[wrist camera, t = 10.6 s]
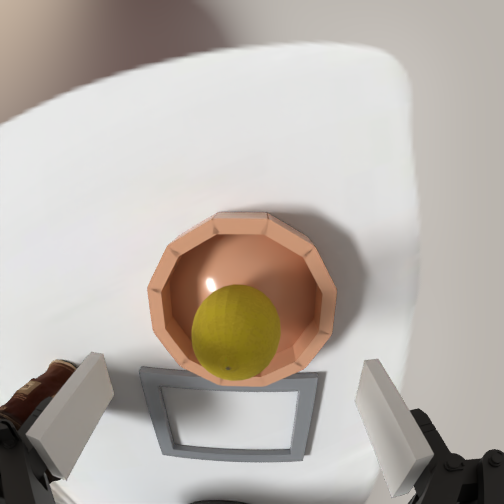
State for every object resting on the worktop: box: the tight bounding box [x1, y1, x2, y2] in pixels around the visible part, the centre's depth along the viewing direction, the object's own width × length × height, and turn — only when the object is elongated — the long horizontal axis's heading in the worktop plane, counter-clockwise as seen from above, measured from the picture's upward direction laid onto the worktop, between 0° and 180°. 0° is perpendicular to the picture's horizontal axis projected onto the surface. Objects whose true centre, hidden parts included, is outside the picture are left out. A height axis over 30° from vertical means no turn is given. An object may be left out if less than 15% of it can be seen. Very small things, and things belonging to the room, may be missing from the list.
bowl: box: [147, 212, 337, 387], centre depth 22 cm, size 13×13×3 cm
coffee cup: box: [0, 360, 76, 484], centre depth 20 cm, size 9×8×13 cm
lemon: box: [192, 284, 281, 381], centre depth 19 cm, size 6×6×8 cm
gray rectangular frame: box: [139, 367, 318, 462], centre depth 27 cm, size 13×16×1 cm
